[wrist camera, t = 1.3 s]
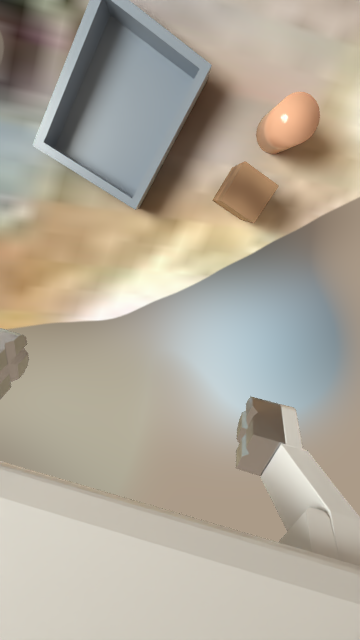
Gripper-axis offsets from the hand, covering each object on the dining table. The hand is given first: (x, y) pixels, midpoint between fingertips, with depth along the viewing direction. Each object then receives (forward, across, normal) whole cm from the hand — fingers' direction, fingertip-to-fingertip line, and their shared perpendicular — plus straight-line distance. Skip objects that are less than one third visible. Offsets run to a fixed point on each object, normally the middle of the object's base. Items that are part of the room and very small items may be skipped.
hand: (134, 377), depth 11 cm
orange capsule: (+43, -6, -8) cm, 44 cm away
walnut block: (+40, -3, 0) cm, 40 cm away
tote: (+39, +14, -6) cm, 42 cm away
